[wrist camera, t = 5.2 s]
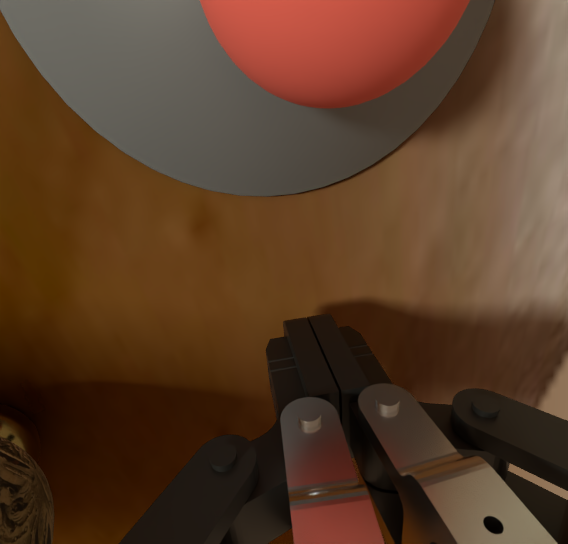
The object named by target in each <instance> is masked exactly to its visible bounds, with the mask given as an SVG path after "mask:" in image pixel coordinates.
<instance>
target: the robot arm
mask: <svg viewBox="0 0 568 544" xmlns="http://www.w3.org/2000/svg"><path fill="white" fill-rule="evenodd" d="M283 326H284V337H280V338H274V339H270V341H269V343H268V346H267V348H266V356H267V364H268V372H269V380H270V388H271V393H272V398H273V403H274V408H275V412H276V418H277V421H276V423H275V424H274V426H273V427H272V428H271V429H270V430H269V431H268V432H267V433H265V434H264V435H262V436H260V437H259V438H257V439H255V440H253V441H251V442H250V441H248V440H247V439H246V438H244V437H241V436H238V435H223V436H219V437H216V438H214V439H212V440H210V441H208V442H207V443H205V444H204V445H203V446H202V447H201V448H200V449H199V450H198V451H197V452H196V454H195V455H194V456H193V457H192V458H191V459H190V461H189V462H188V463H187V464H186V465H185V466H184V468H183V469H182V470H181V471H180V472H179V473H178V475H177V476H176V477H175V478H174V479H173V481H172V482H171V483H170V484H169V485H168V486H167V488H166V489H165V490H164V491H163V492H162V493H161V495H160V496H159V497H158V498H157V499H156V500H155V502H154V503H153V504H152V505H151V506H150V508H149V509H148V510H147V511H146V512H145V513H144V515H143V516H142V517H141V518H140V519H139V520H138V522H137V523H136V524H135V525H134V526H133V528H132V529H131V530H130V531H129V532H128V533H127V535H126V536H125V537H124V538H123V539H122V540H121V542H120V543H119V544H268V543H269V542H271V541H272V540H274V539H275V538H277V537H278V536H280V535H282V534H283V533H285V532H286V531H288V530H289V529H291V528H292V530H293V539H294V544H384V541H383V537H382V534H383V536H384V538H385V540H386V542H387V544H568V500H566V499H564V498H562V497H560V496H558V495H556V494H554V493H552V492H550V491H548V490H546V489H544V488H542V487H540V486H538V485H536V484H534V483H532V482H530V481H528V480H526V479H524V478H522V477H520V476H518V475H516V474H514V473H511V472H510V471H508V468H509V463H511V464H513V465H515V466H517V467H519V468H521V469H523V470H525V471H527V472H529V473H532V474H534V475H536V476H538V477H540V478H542V479H544V480H546V481H548V482H550V483H552V484H554V485H556V486H558V487H560V488H563V489H565V490H567V491H568V421H567V420H564V419H561V418H559V417H556V416H553V415H551V414H549V413H546V412H543V411H541V410H538V409H536V408H533V407H531V406H528V405H525V404H523V403H520V402H518V401H515V400H513V399H510V398H507V397H505V396H502V395H500V394H497V393H495V392H492V391H488V390H484V389H466V390H463V391H460V392H459V393H457V394H456V395H455V396H454V398H453V403H452V405H445V404H430V403H423V402H418V401H416V399H415V398H414V397H413V396H412V395H411V394H410V393H409V392H408V391H407V390H405V389H403V388H401V387H399V386H396V385H393V384H392V382H391V381H390V379H389V378H388V376H387V375H386V373H385V371H384V370H383V368H382V367H381V365H380V364H379V362H378V361H377V359H376V357H375V356H374V354H372V351H371V350H370V348H369V347H368V346H367V343H366V342H365V340H364V339H363V337H362V336H361V334H360V333H358V332H357V331H355V330H354V329H352V328H351V327H349V326H346V327H340V328H338V327H337V325H336V323H335V322H334V320H333V318H332V316H331V315H330V314H323V315H317V316H311V317H307V318H306V317H305V318H299V319H293V320H287V321H284V322H283ZM351 458H355V460H356V463H357V465H358V478H359V482H358V479H357V475H356V472H355V469H354V465H353V462H352V459H351ZM379 527H380V528H379ZM380 530H381V531H380ZM381 532H382V534H381Z"/></svg>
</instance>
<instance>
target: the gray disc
mask: <svg viewBox="0 0 568 544" xmlns="http://www.w3.org/2000/svg"><path fill="white" fill-rule="evenodd" d="M494 1H495V0H470V1H469V3H468V5H467V7H466V9H465V11H464V13H463V15H462V16H461V18H460V20H459V22H458V24H457V26H456V27H455V29H454V30H453V32H452V33H451V34H450V36H449V37H448V39H447V40H446V42H445V43H444V44H443V45H442V47H441V48H440V49H439V50H438V51H437V52H436V54H435V55H434V56H433V57H432V58H431V59H430V60H429V61H428V62H427V64H426V65H425V66H423V67H422V68H421V69H420V70H419V71H418V72H416V73H415V74H414V75H413V76H412V77H410V78H409V79H408V80H407V81H406V82H404V83H402V84H401V85H399V86H398V87H396V88H394V89H393V90H391V91H389V92H388V93H386V94H384V95H382V96H380V97H378V98H375V99H372V100H370V101H367V102H364V103H361V104H358V105H353V106H349V107H342V108H313V107H307V106H301V105H298V104H294V103H291V102H289V101H286V100H284V99H281V98H279V97H277V96H275V95H273V94H271V93H269V92H267V91H266V90H264V89H263V88H262V87H260V86H259V85H258V84H256V83H255V82H253V81H252V80H251V79H249V78H248V77H247V76H246V75H245V74H244V73H243V72H242V71H241V70H240V69H239V68H238V67H237V66H236V65H235V63H234V62H233V61H232V60H231V58H230V57H229V56H228V54H227V53H226V52H225V50H224V49H223V47H222V46H221V44H220V43H219V42H218V40H217V38H216V36H215V34H214V33H213V31H212V29H211V27H210V25H209V23H208V20H207V18H206V16H205V13H204V10H203V8H202V5H201V3H200V0H0V10H1V12H2V14H3V16H4V17H5V19H6V21H7V23H8V25H9V26H10V28H11V30H12V32H13V34H14V35H15V37H16V39H17V40H18V42H19V43H20V44H21V46H22V47H23V49H24V50H25V52H26V53H27V55H28V56H29V57H30V59H31V60H32V62H33V63H34V65H35V66H36V68H37V69H38V70H39V72H40V73H41V74H42V76H43V77H44V78H45V79H46V80H47V81H48V83H49V84H50V85H51V86H52V87H53V88H54V90H55V91H56V92H57V93H58V94H59V95H60V97H61V98H62V99H63V100H64V101H65V102H66V104H67V105H68V106H69V107H71V108H72V109H73V110H74V111H75V112H76V113H77V114H78V115H79V116H80V117H81V118H82V119H83V120H84V121H85V122H86V123H88V124H89V125H90V126H91V127H92V128H93V129H94V130H95V131H96V132H98V133H99V134H100V135H102V136H103V137H104V138H106V139H107V140H108V141H110V142H111V143H112V144H114V145H115V146H116V147H118V148H119V149H120V150H121V151H123V152H124V153H126V154H128V155H129V156H131V157H133V158H134V159H136V160H138V161H140V162H141V163H143V164H145V165H146V166H148V167H150V168H152V169H153V170H156V171H158V172H160V173H162V174H165V175H167V176H169V177H172V178H174V179H176V180H178V181H181V182H184V183H187V184H190V185H194V186H197V187H200V188H204V189H207V190H210V191H216V192H222V193H228V194H234V195H243V196H276V195H286V194H296V193H300V192H304V191H309V190H313V189H317V188H321V187H324V186H327V185H330V184H332V183H335V182H338V181H340V180H343V179H346V178H348V177H350V176H352V175H354V174H356V173H358V172H360V171H361V170H363V169H365V168H367V167H369V166H371V165H373V164H374V163H376V162H377V161H378V160H380V159H381V158H383V157H384V156H386V155H387V154H388V153H390V152H391V151H393V150H394V149H396V148H397V147H398V146H399V145H400V144H401V143H402V142H404V141H405V140H406V139H407V138H408V137H409V136H410V135H411V134H413V133H414V132H415V131H416V130H417V129H418V128H419V127H420V126H421V125H422V124H423V123H424V121H425V120H426V119H427V118H428V117H429V116H430V115H431V114H432V113H433V111H434V110H435V109H436V108H437V107H438V106H439V105H440V103H441V102H442V100H443V99H444V98H445V96H446V95H447V93H448V92H449V91H450V89H451V88H452V86H453V85H454V84H455V82H456V81H457V80H458V78H459V76H460V74H461V73H462V71H463V69H464V67H465V66H466V64H467V62H468V60H469V59H470V57H471V55H472V53H473V52H474V50H475V48H476V45H477V43H478V41H479V39H480V37H481V34H482V32H483V30H484V28H485V25H486V23H487V21H488V19H489V16H490V13H491V10H492V7H493V4H494Z"/></svg>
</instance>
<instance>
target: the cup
mask: <svg viewBox="0 0 568 544" xmlns="http://www.w3.org/2000/svg"><path fill="white" fill-rule="evenodd" d="M40 451H41V446H40V437H39V434H38V431H37V429H36V427H35V425H34V424H33V423H32V421H31V420H30V419H29V418H28V417H26V416H25V415H24V414H22V413H21V412H19V411H18V410H16V409H13V408H11V407H9V406H6V405H2V404H0V544H52V541H53V530H54V506H53V498H52V493H51V490H50V487H49V484H48V481H47V478H46V477H45V475H44V473H43V471H42V470H41V468H40V467H39V465H38V463H39V460H40Z"/></svg>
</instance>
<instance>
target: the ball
mask: <svg viewBox="0 0 568 544" xmlns="http://www.w3.org/2000/svg"><path fill="white" fill-rule="evenodd" d="M469 1H470V0H200V3H201V5H202V8H203V10H204V13H205V16H206V18H207V20H208V23H209V25H210V27H211V29H212V31H213V33H214V34H215V36H216V38H217V40H218V42H219V43H220V44H221V46H222V47H223V49H224V50H225V52H226V53H227V54H228V56H229V57H230V58H231V60H232V61H233V62H234V63H235V65H236V66H237V67H238V68H239V69H240V70H241V71H242V72H243V73H244V74H245V75H246V76H247V77H248V78H249V79H251V80H252V81H253V82H255V83H256V84H258V85H259V86H260V87H262V88H263V89H264V90H266V91H267V92H269V93H271V94H273V95H275V96H277V97H279V98H281V99H284V100H286V101H289V102H291V103H294V104H298V105H301V106H307V107H313V108H342V107H349V106H353V105H358V104H361V103H364V102H367V101H370V100H372V99H375V98H378V97H380V96H382V95H384V94H386V93H388V92H389V91H391V90H393V89H394V88H396V87H398V86H399V85H401V84H402V83H404V82H406V81H407V80H408V79H409V78H410V77H412V76H413V75H414V74H415V73H416V72H418V71H419V70H420V69H421V68H422V67H423V66H425V65H426V64H427V62H428V61H429V60H430V59H431V58H432V57H433V56H434V55H435V54H436V52H437V51H438V50H439V49H440V48H441V47H442V45H443V44H444V43H445V42H446V40H447V39H448V37H449V36H450V34H451V33H452V32H453V30H454V29H455V27H456V26H457V24H458V22H459V20H460V18H461V16H462V15H463V13H464V11H465V9H466V7H467V5H468V3H469Z"/></svg>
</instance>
